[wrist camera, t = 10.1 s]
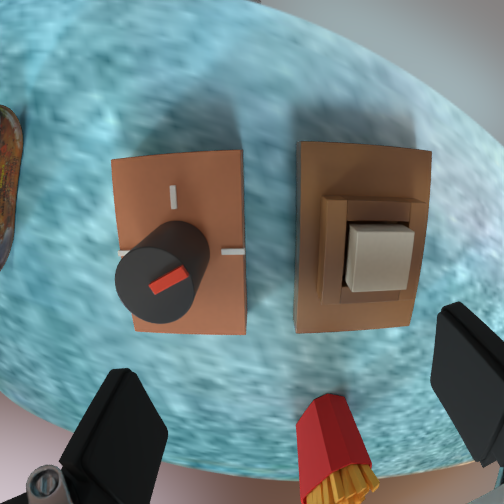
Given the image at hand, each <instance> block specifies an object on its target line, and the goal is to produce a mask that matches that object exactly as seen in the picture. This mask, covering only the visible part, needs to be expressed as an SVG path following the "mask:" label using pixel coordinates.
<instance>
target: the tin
mask: <svg viewBox="0 0 504 504" xmlns="http://www.w3.org/2000/svg"><path fill="white" fill-rule="evenodd" d="M22 150H23V134H22V128H21V125H20V122H19V120H18V118H17V116H16V115H15V113H14V112H13V111H12V110H11V109H9V108H8V107H6V106H4V105H0V271H1V269H2V268H3V266H4V264H5V262H6V260H7V258H8V256H9V253H10V250H11V247H12V243H13V237H14V224H15V207H16V195H17V186H18V178H19V171H20V164H21V157H22Z"/></svg>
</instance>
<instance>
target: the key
mask: <svg viewBox="0 0 504 504" xmlns="http://www.w3.org/2000/svg"><path fill="white" fill-rule="evenodd" d="M414 234H415V232H414V231H412V230H411V229H409V228H407V227H406V226H404V225H402V224H349V234H348V248H347V260H346V272H345V281H346V283H347V285H348V286H349V288H350V290H351V291H352V292H366V291H386V290H404V289H406V288H407V283H408V277H409V271H410V264H411V257H412V250H413V242H414Z"/></svg>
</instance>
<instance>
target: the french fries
mask: <svg viewBox="0 0 504 504" xmlns="http://www.w3.org/2000/svg"><path fill="white" fill-rule="evenodd" d="M296 432H297V447H298V463H299V480H300V498H301V502H302V504H360V503H361V502H363V501H364V499H365V497H364V496H365V495H366V494H367V493H368V492H369V489H371V490H372V492H374V491H375V490H376V489H377V488H378V487H379V483H380V482H379V480H378V479H377V477H376V476H375V474H374V473H373V471H372V470H371V468H372V462H371V460H370V457H369V455H368V453H367V450H366V448H365V445H364V443H363V440H362V438H361V435H360V433H359V430H358V428H357V426H356V423H355V421H354V418H353V416H352V414H351V411H350V409H349V406H348V404H347V402H346V399H345V397H343V396H338V395H333V394H326V395H323V396H321V397H319V398H317V399H314V400H313V402H312V403H311V404H310V405H309V407H308V408H307V410H306V411H305V412H304V414H303V415H302V417H301V418H300V420H299V421H298V423H297V424H296Z"/></svg>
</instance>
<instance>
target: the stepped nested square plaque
mask: <svg viewBox="0 0 504 504" xmlns="http://www.w3.org/2000/svg"><path fill="white" fill-rule="evenodd" d="M431 162H432V151H426V150H419V149H410V148H401V147H392V146H381V145H369V144H355V143H338V142H315V141H299V142H296V250H295V283H294V308H293V320H294V326H295V331H296V333H321V332H339V331H355V330H368V329H380V328H391V327H401V326H409V324H410V320H411V316H412V311H413V307H414V302H415V297H416V292H417V287H418V282H419V276H420V270H421V264H422V258H423V251H424V244H425V237H426V228H427V219H428V209H429V198H430V183H431ZM349 224H402V225H404V226H406V227H407V228H409V229H411V230H412V231H414V232H415V234H414V242H413V250H412V257H411V264H410V271H409V277H408V283H407V288H406V289H404V290H386V291H366V292H352V291H351V290H350V288H349V286H348V285H347V283H346V281H345V272H346V260H347V248H348V234H349Z"/></svg>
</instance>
